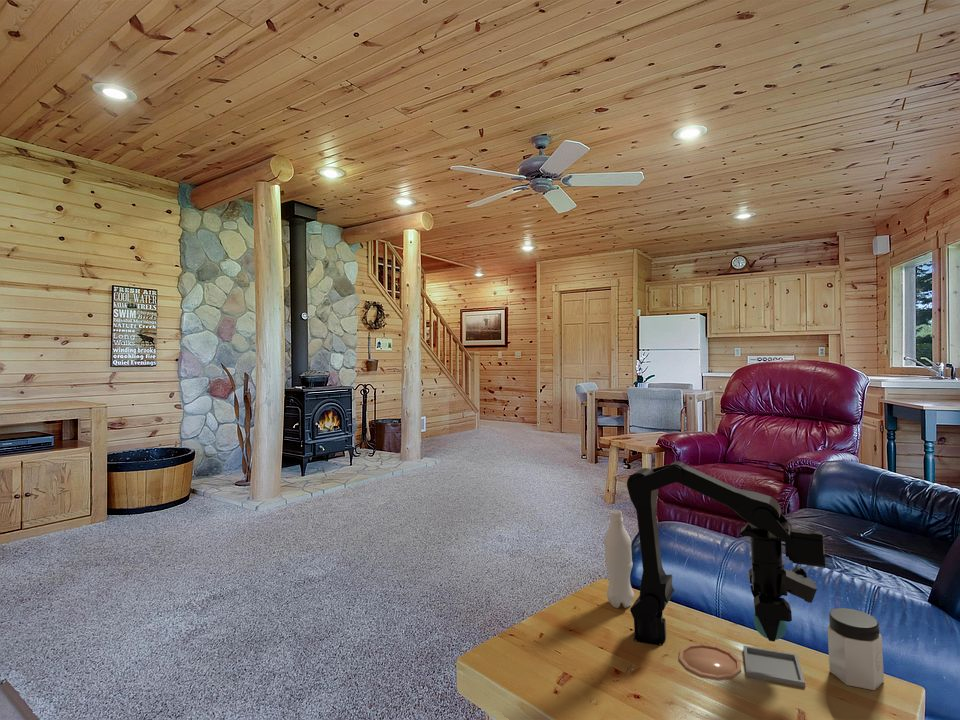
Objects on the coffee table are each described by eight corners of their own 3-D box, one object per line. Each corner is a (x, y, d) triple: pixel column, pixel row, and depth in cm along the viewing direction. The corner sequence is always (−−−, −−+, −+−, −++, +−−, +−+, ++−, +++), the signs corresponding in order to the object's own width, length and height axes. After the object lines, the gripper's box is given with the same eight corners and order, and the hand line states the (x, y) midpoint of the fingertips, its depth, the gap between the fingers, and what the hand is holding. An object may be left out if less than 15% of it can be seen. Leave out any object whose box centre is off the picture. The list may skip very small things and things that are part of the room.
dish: (678, 674, 107) (677, 669, 107) (681, 644, 117) (680, 639, 117) (742, 686, 102) (742, 681, 102) (739, 654, 113) (739, 649, 113)
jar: (871, 696, 97) (868, 633, 97) (823, 675, 104) (820, 616, 104) (889, 678, 102) (886, 618, 102) (843, 659, 109) (840, 603, 109)
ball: (755, 642, 105) (754, 613, 105) (753, 628, 110) (751, 600, 110) (789, 648, 102) (787, 618, 102) (785, 633, 108) (783, 604, 108)
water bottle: (608, 610, 135) (603, 515, 135) (606, 597, 142) (601, 507, 142) (636, 611, 133) (631, 515, 133) (632, 598, 141) (628, 507, 141)
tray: (746, 679, 104) (746, 671, 104) (743, 652, 113) (743, 645, 113) (805, 690, 100) (805, 682, 100) (797, 661, 109) (797, 654, 109)
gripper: (821, 582, 95) (825, 666, 95) (804, 546, 112) (807, 618, 112) (753, 574, 99) (757, 654, 99) (747, 541, 116) (750, 609, 116)
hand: (770, 633), depth 106 cm, fingers closed on ball, 6 cm apart
